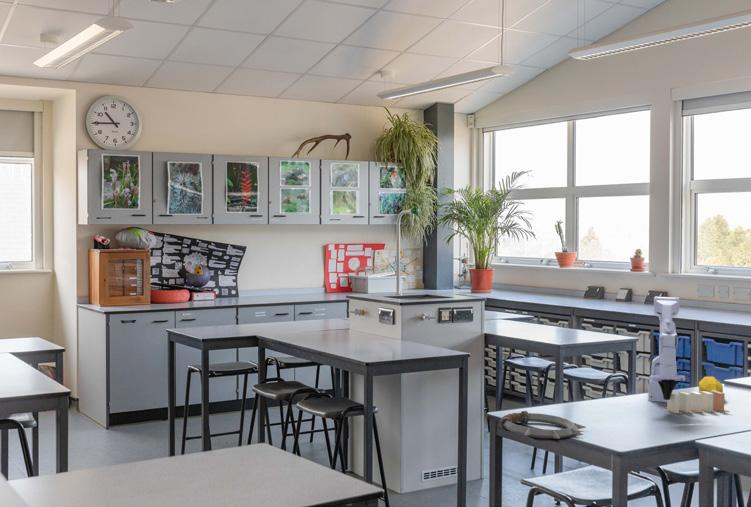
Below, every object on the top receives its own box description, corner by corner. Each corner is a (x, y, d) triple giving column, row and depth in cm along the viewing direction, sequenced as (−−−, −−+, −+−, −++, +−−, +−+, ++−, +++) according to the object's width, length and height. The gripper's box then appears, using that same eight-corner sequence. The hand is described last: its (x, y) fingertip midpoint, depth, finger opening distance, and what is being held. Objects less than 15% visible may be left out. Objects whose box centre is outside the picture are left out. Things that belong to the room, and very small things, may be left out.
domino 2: (685, 412, 325) (686, 394, 325) (678, 409, 330) (678, 392, 330) (690, 412, 326) (690, 394, 326) (682, 409, 331) (683, 391, 330)
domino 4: (708, 411, 328) (708, 393, 328) (700, 409, 333) (700, 391, 332) (712, 411, 328) (713, 393, 328) (704, 408, 333) (705, 391, 333)
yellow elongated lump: (709, 411, 343) (697, 388, 344) (701, 398, 372) (691, 377, 373) (732, 401, 341) (721, 379, 342) (723, 389, 370) (712, 368, 371)
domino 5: (715, 408, 334) (716, 391, 334) (724, 411, 329) (724, 393, 329) (711, 408, 334) (712, 391, 334) (719, 411, 329) (720, 393, 329)
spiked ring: (481, 432, 287) (562, 451, 269) (481, 419, 287) (563, 437, 269) (525, 417, 314) (602, 432, 296) (526, 405, 314) (603, 420, 296)
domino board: (672, 415, 322) (672, 413, 322) (660, 411, 330) (660, 409, 330) (730, 413, 329) (730, 411, 328) (717, 409, 336) (717, 407, 336)
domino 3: (697, 412, 327) (697, 394, 326) (689, 409, 331) (689, 391, 331) (701, 411, 327) (702, 394, 327) (693, 409, 332) (694, 391, 332)
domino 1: (674, 412, 324) (675, 394, 324) (666, 410, 329) (667, 392, 329) (679, 412, 325) (679, 394, 324) (671, 409, 329) (672, 392, 329)
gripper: (656, 366, 320) (655, 401, 320) (690, 365, 324) (689, 400, 324) (646, 363, 327) (645, 398, 327) (679, 363, 330) (678, 397, 331)
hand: (666, 399), depth 326 cm, fingers closed
